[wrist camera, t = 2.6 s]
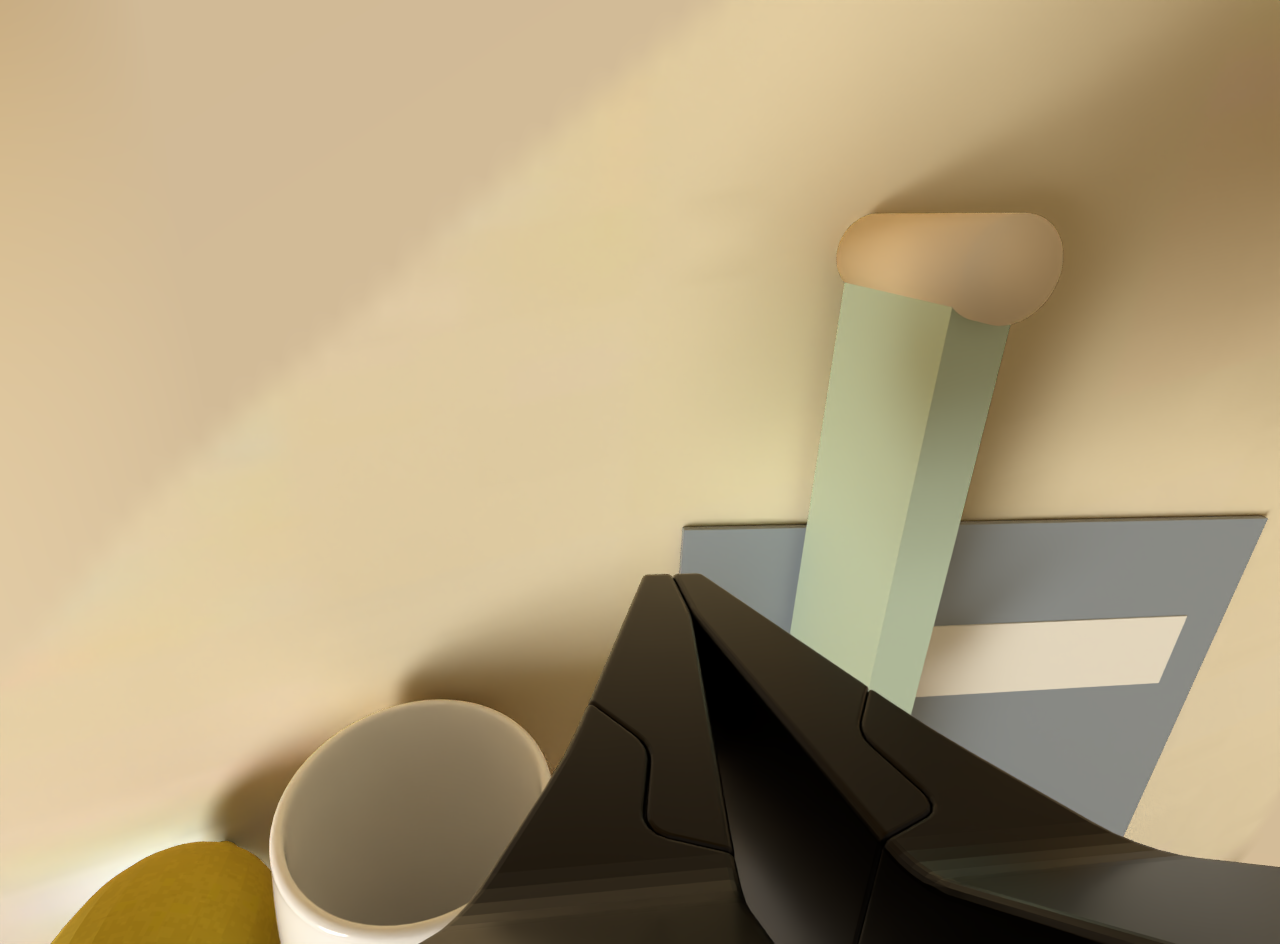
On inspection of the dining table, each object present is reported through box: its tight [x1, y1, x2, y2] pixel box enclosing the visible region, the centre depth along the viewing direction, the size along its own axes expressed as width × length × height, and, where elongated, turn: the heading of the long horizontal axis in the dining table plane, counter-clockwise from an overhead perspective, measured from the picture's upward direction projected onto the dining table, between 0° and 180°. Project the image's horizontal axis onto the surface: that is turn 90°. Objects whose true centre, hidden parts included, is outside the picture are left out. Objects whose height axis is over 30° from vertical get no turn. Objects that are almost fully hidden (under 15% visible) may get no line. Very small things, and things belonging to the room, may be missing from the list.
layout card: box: [679, 516, 1268, 837], centre depth 23 cm, size 19×20×1 cm
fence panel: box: [790, 213, 1063, 715], centre depth 15 cm, size 12×2×5 cm, turn 178°
